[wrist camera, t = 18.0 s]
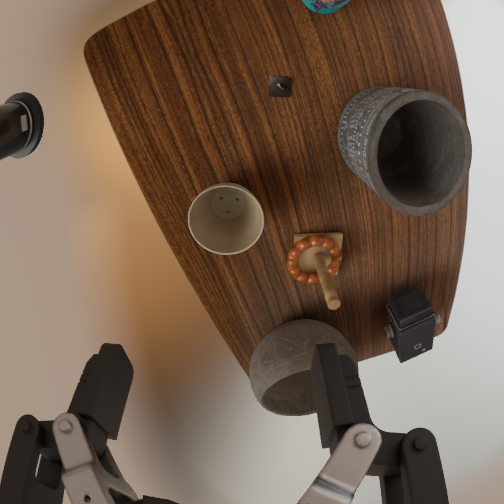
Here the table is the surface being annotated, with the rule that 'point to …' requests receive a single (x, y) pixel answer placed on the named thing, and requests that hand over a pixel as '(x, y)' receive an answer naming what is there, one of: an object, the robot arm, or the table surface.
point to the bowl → (291, 365)
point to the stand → (321, 265)
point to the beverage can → (325, 5)
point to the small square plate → (279, 86)
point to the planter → (406, 146)
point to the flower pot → (226, 219)
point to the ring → (306, 244)
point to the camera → (410, 323)
